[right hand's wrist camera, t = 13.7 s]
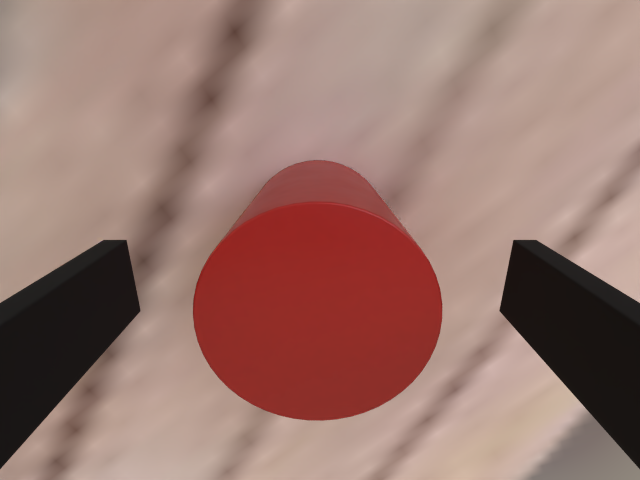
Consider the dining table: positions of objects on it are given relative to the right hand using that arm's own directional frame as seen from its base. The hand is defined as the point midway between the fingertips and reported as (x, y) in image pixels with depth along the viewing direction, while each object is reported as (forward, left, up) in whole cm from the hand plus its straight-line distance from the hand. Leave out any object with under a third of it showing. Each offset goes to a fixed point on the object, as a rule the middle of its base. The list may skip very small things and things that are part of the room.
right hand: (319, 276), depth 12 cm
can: (0, 0, -7) cm, 7 cm away
